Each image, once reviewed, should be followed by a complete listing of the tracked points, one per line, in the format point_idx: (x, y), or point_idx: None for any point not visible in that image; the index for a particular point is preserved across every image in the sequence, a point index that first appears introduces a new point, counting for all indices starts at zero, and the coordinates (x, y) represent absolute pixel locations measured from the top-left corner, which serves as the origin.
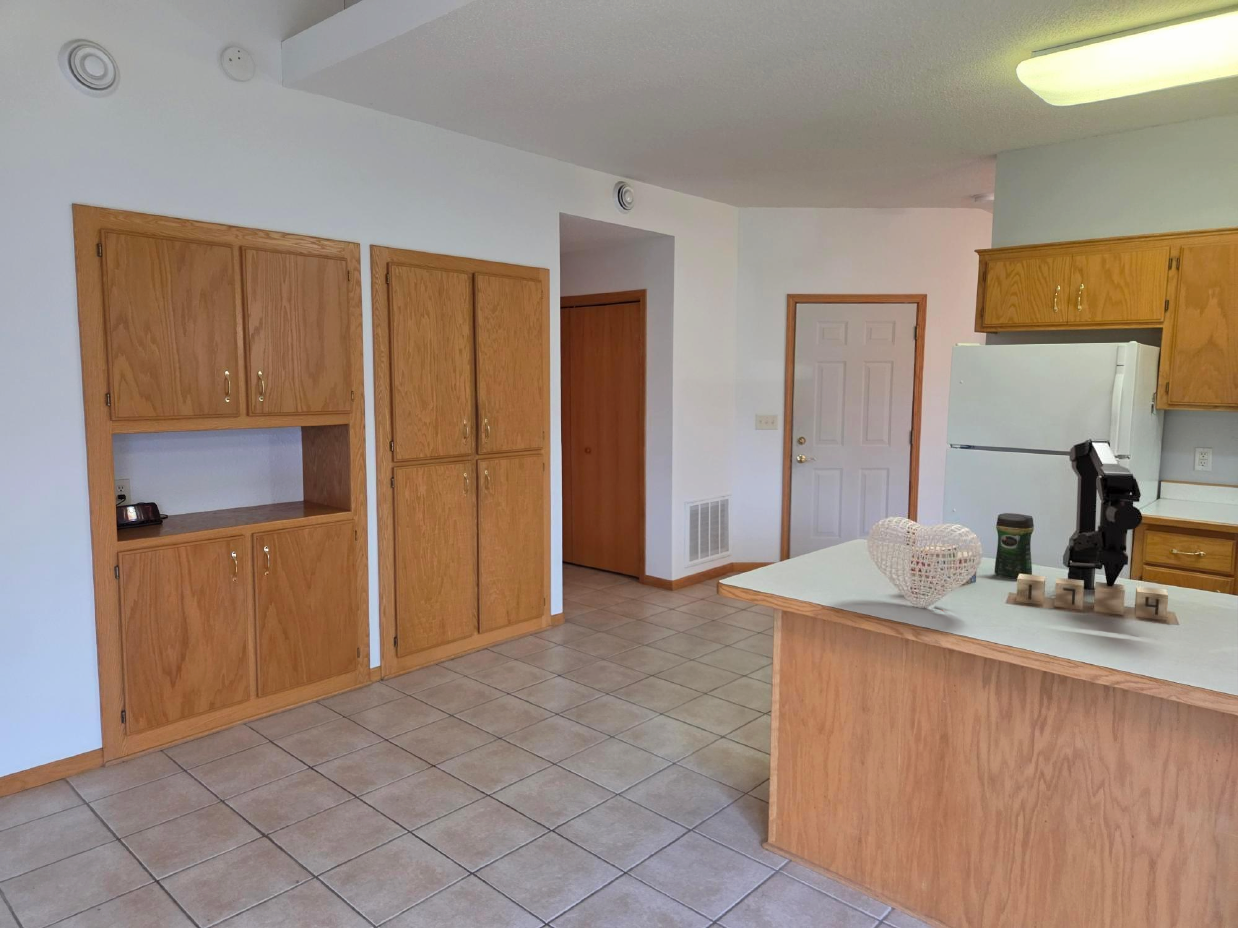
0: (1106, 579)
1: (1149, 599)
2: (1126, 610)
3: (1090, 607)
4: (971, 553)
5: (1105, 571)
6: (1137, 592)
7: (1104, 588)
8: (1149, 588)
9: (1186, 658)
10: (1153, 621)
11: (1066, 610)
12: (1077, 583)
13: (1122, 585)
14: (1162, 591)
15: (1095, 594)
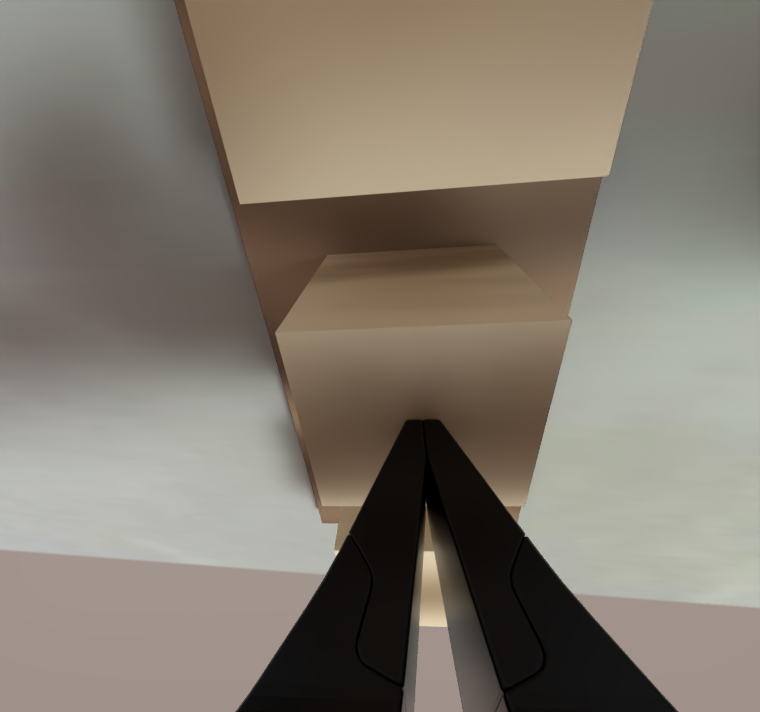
0: (382, 466)
1: None
2: None
3: (418, 226)
4: None
5: (328, 570)
6: (336, 544)
7: (295, 397)
8: None
9: (6, 502)
10: (310, 471)
11: (197, 51)
12: (331, 96)
13: None
14: (427, 616)
15: (300, 301)
